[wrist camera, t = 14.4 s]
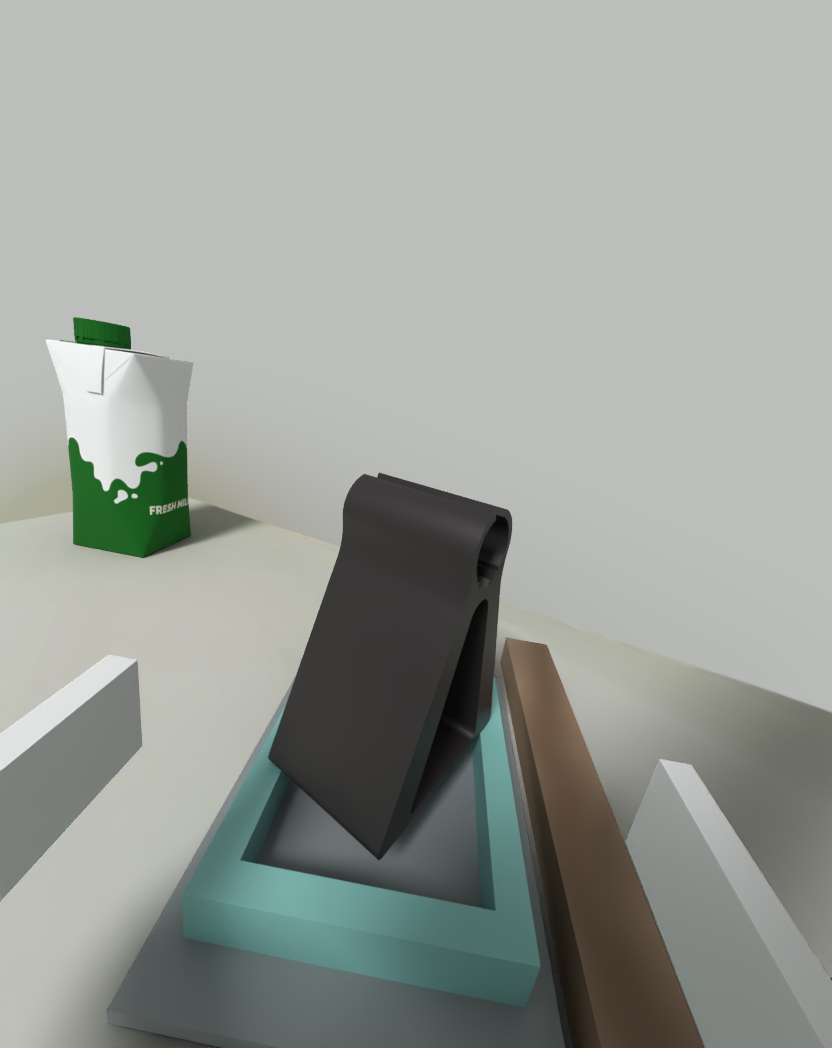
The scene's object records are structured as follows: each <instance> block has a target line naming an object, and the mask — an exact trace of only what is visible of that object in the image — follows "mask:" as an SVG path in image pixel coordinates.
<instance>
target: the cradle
mask: <svg viewBox="0 0 832 1048" xmlns="http://www.w3.org/2000/svg"><path fill="white" fill-rule="evenodd" d="M295 678H296V677H295ZM294 680H295V679H294ZM294 680H293V682H292V684H291V686H290V687H289V689H288V691H287V693H286V694H285V696H284V698H283V700H282V702H281V703H280V705H279V707H278V709H277V710H276V712H275V714H274V716H273V717H272V719H271V721H270V723H269V724H268V726H267V728H266V730H265V732H264V733H263V735H262V737H261V739H260V740H259V742H258V744H257V746H256V747H255V749H254V751H253V753H252V755H251V756H250V758H249V760H248V762H247V763H246V765H245V767H244V769H243V770H242V772H241V774H240V776H239V778H238V779H237V781H236V783H235V785H234V786H233V788H232V790H231V792H230V793H229V795H228V797H227V799H226V801H225V802H224V804H223V806H222V808H221V809H220V811H219V813H218V815H217V816H216V818H215V820H214V822H213V824H212V825H211V827H210V829H209V831H208V832H207V834H206V836H205V838H204V839H203V841H202V843H201V845H200V847H199V848H198V850H197V852H196V854H195V855H194V857H193V859H192V861H191V862H190V864H189V866H188V868H187V870H186V871H185V873H184V875H183V877H182V878H181V880H180V882H179V884H178V885H177V887H176V889H175V891H174V892H173V894H172V896H171V898H170V900H169V901H168V903H167V905H166V907H165V908H164V910H163V912H162V914H161V915H160V917H159V919H158V921H157V923H156V924H155V926H154V928H153V930H152V931H151V933H150V935H149V937H148V938H147V940H146V942H145V944H144V946H143V947H142V949H141V951H140V953H139V954H138V956H137V958H136V960H135V961H134V963H133V965H132V967H131V969H130V970H129V972H128V974H127V976H126V977H125V979H124V981H123V983H122V984H121V986H120V988H119V990H118V992H117V993H116V995H115V997H114V999H113V1000H112V1002H111V1004H110V1006H109V1007H108V1009H107V1017H108V1023H109V1024H113V1025H118V1026H123V1027H127V1028H132V1029H137V1030H141V1031H146V1032H151V1033H155V1034H160V1035H165V1036H169V1037H174V1038H179V1039H183V1040H188V1041H193V1042H197V1043H202V1044H207V1045H211V1046H216V1047H221V1048H565V1044H564V1038H563V1033H562V1027H561V1021H560V1016H559V1010H558V1004H557V999H556V993H555V987H554V981H553V976H552V970H551V964H550V959H549V953H548V947H547V942H546V936H545V930H544V925H543V919H542V913H541V908H540V902H539V896H538V891H537V885H536V879H535V873H534V868H533V862H532V856H531V851H530V845H529V839H528V834H527V828H526V822H525V817H524V811H523V805H522V800H521V794H520V788H519V783H518V777H517V771H516V765H515V760H514V754H513V748H512V743H511V737H510V731H509V726H508V720H507V714H506V709H505V703H504V697H503V692H502V686H501V680H500V678H495V675H494V679H493V693H492V707H491V717H490V720H489V722H488V724H487V725H486V727H485V728H484V729H483V731H482V732H481V733H480V734H479V736H478V737H477V738H476V739H475V741H474V742H473V743H472V745H471V746H470V747H469V748H468V750H467V751H466V752H465V753H464V755H463V756H462V757H461V758H460V760H459V761H458V762H457V764H456V765H455V766H454V767H453V769H452V770H451V771H450V772H449V774H448V775H447V776H446V775H445V776H444V778H443V780H442V783H441V784H440V785H439V786H438V788H437V789H436V790H435V791H434V793H433V794H432V795H431V797H430V798H429V799H428V800H427V802H426V803H425V804H424V805H423V807H422V808H421V809H420V811H419V812H418V813H417V814H416V816H415V817H414V818H413V819H412V821H411V822H410V823H409V825H408V826H407V827H406V828H405V830H404V831H403V832H402V833H401V835H400V836H399V837H398V838H397V840H396V841H395V842H394V844H393V845H392V846H391V847H390V849H389V850H388V851H387V852H386V854H385V855H384V856H383V857H382V859H380V860H378V859H376V858H375V857H374V856H373V855H372V854H371V853H370V852H369V851H368V850H367V849H366V848H365V847H363V846H362V845H361V844H360V843H359V842H358V841H357V840H356V839H355V838H354V837H353V836H351V835H350V834H349V833H348V832H347V831H346V830H345V829H344V828H343V827H342V826H341V825H340V824H338V823H337V822H336V821H335V820H334V819H333V818H332V817H331V816H330V815H329V814H328V813H327V812H325V811H324V810H323V809H322V808H321V807H320V806H319V805H318V804H317V803H316V802H315V801H314V800H312V799H311V798H310V797H309V796H308V795H307V794H306V793H305V792H304V791H303V790H302V789H300V788H299V787H298V786H297V785H296V784H295V783H294V782H293V781H292V780H291V779H290V778H289V777H287V776H286V775H285V774H284V773H283V772H282V771H281V770H280V769H279V768H278V767H277V766H276V765H274V764H273V763H272V762H271V761H270V760H269V759H268V755H269V752H270V749H271V746H272V743H273V740H274V738H275V735H276V732H277V729H278V726H279V723H280V720H281V718H282V715H283V712H284V709H285V706H286V703H287V700H288V698H289V695H290V692H291V689H292V686H293V683H294Z"/></svg>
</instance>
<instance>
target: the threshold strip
mask: <svg viewBox="0 0 832 1048" xmlns="http://www.w3.org/2000/svg"><path fill="white" fill-rule="evenodd" d="M501 665H502V670H503V676H504V681H505V686H506V692H507V697H508V702H509V707H510V713H511V718H512V723H513V728H514V734H515V739H516V744H517V749H518V755H519V760H520V765H521V771H522V776H523V781H524V786H525V792H526V797H527V802H528V807H529V813H530V818H531V823H532V829H533V834H534V839H535V844H536V850H537V855H538V860H539V865H540V871H541V876H542V881H543V887H544V892H545V897H546V902H547V908H548V913H549V918H550V923H551V929H552V934H553V939H554V945H555V950H556V955H557V960H558V966H559V971H560V976H561V981H562V987H563V992H564V997H565V1002H566V1008H567V1013H568V1018H569V1024H570V1029H571V1034H572V1039H573V1045H574V1048H704V1046H703V1043H702V1041H701V1038H700V1035H699V1033H698V1030H697V1028H696V1025H695V1023H694V1020H693V1018H692V1015H691V1012H690V1010H689V1007H688V1005H687V1002H686V1000H685V997H684V995H683V992H682V989H681V987H680V984H679V982H678V979H677V977H676V974H675V972H674V969H673V966H672V964H671V961H670V959H669V956H668V954H667V951H666V949H665V946H664V943H663V941H662V938H661V936H660V933H659V931H658V928H657V925H656V923H655V920H654V918H653V915H652V913H651V910H650V908H649V905H648V902H647V900H646V897H645V895H644V892H643V890H642V887H641V885H640V882H639V879H638V877H637V874H636V872H635V869H634V867H633V864H632V862H631V859H630V856H629V854H628V851H627V849H626V846H625V844H624V841H623V839H622V836H621V833H620V831H619V828H618V826H617V823H616V821H615V818H614V816H613V813H612V810H611V808H610V805H609V803H608V800H607V798H606V795H605V793H604V790H603V787H602V785H601V782H600V780H599V777H598V775H597V772H596V770H595V767H594V764H593V762H592V759H591V757H590V754H589V752H588V749H587V747H586V744H585V741H584V739H583V736H582V734H581V731H580V729H579V726H578V724H577V721H576V718H575V716H574V713H573V711H572V708H571V706H570V703H569V700H568V698H567V695H566V693H565V690H564V688H563V685H562V683H561V680H560V677H559V675H558V672H557V670H556V667H555V665H554V662H553V660H552V657H551V654H550V652H549V649H548V647H547V645H545V644H539V643H534V642H528V641H522V640H516V639H511V638H506V641H505V645H504V649H503V653H502V657H501Z"/></svg>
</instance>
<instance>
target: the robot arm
mask: <svg viewBox="0 0 832 1048" xmlns="http://www.w3.org/2000/svg"><path fill="white" fill-rule="evenodd" d="M141 746H142V732H141V715H140V698H139V681H138V663H137V660H135V659H129V658H124V657H119V656H114V655H107V656H106V657H105V658H103V659H102V660H100V661H99V662H98V663H96V664H95V665H94V666H92V667H91V668H89V669H88V670H87V671H85V672H84V673H83V674H81V675H80V676H79V677H77V678H76V679H74V680H73V681H72V682H70V683H69V684H68V685H66V686H65V687H63V688H62V689H61V690H59V691H58V692H57V693H55V694H54V695H52V696H51V697H50V698H48V699H47V700H46V701H44V702H43V703H41V704H40V705H39V706H37V707H36V708H35V709H33V710H32V711H30V712H29V713H28V714H26V715H25V716H24V717H22V718H21V719H19V720H18V721H17V722H15V723H14V724H13V725H11V726H10V727H8V728H7V729H6V730H4V731H3V732H2V733H0V901H1V900H2V899H3V898H4V897H5V896H6V895H7V893H8V892H9V891H10V890H11V889H12V888H13V887H14V886H15V885H16V884H17V883H18V881H19V880H20V879H21V878H22V877H23V876H24V875H25V874H26V873H27V872H28V870H29V869H30V868H31V867H32V866H33V865H34V864H35V863H36V862H37V861H38V859H39V858H40V857H41V856H42V855H43V854H44V853H45V852H46V851H47V850H48V848H49V847H50V846H51V845H52V844H53V843H54V842H55V841H56V840H57V839H58V838H59V836H60V835H61V834H62V833H63V832H64V831H65V830H66V829H67V828H68V827H69V825H70V824H71V823H72V822H73V821H74V820H75V819H76V818H77V817H78V816H79V814H80V813H81V812H82V811H83V810H84V809H85V808H86V807H87V806H88V805H89V804H90V802H91V801H92V800H93V799H94V798H95V797H96V796H97V795H98V794H99V793H100V791H101V790H102V789H103V788H104V787H105V786H106V785H107V784H108V783H109V782H110V780H111V779H112V778H113V777H114V776H115V775H116V774H117V773H118V772H119V771H120V769H121V768H122V767H123V766H124V765H125V764H126V763H127V762H128V761H129V760H130V759H131V757H132V756H133V755H134V754H135V753H136V752H137V751H138V750H139V749H140V748H141ZM625 842H626V844H627V847H628V850H629V852H630V855H631V857H632V860H633V862H634V865H635V868H636V870H637V873H638V875H639V878H640V880H641V883H642V886H643V888H644V891H645V893H646V896H647V899H648V901H649V904H650V906H651V909H652V911H653V914H654V917H655V919H656V922H657V924H658V927H659V930H660V932H661V935H662V937H663V940H664V942H665V945H666V948H667V950H668V953H669V955H670V958H671V961H672V963H673V966H674V968H675V971H676V973H677V976H678V979H679V981H680V984H681V986H682V989H683V992H684V994H685V997H686V999H687V1002H688V1004H689V1007H690V1010H691V1012H692V1015H693V1017H694V1020H695V1023H696V1025H697V1028H698V1030H699V1033H700V1035H701V1038H702V1041H703V1043H704V1046H705V1048H832V978H830V977H829V975H828V974H827V972H826V971H825V969H824V968H823V966H822V965H821V963H820V961H819V960H818V958H817V957H816V955H815V954H814V952H813V951H812V949H811V948H810V946H809V945H808V943H807V942H806V940H805V938H804V937H803V935H802V934H801V932H800V931H799V929H798V928H797V926H796V925H795V923H794V922H793V920H792V918H791V917H790V915H789V914H788V912H787V911H786V909H785V908H784V906H783V905H782V903H781V902H780V900H779V899H778V897H777V895H776V894H775V892H774V891H773V889H772V888H771V886H770V885H769V883H768V882H767V880H766V879H765V877H764V875H763V874H762V872H761V871H760V869H759V868H758V866H757V865H756V863H755V862H754V860H753V859H752V857H751V856H750V854H749V852H748V851H747V849H746V848H745V846H744V845H743V843H742V842H741V840H740V839H739V837H738V836H737V834H736V832H735V831H734V829H733V828H732V826H731V825H730V823H729V822H728V820H727V819H726V817H725V816H724V814H723V813H722V811H721V809H720V808H719V806H718V805H717V803H716V802H715V800H714V799H713V797H712V796H711V794H710V793H709V791H708V789H707V788H706V786H705V785H704V783H703V782H702V780H701V779H700V777H699V776H698V774H697V773H696V771H695V770H694V768H693V766H692V765H690V764H685V763H680V762H674V761H669V760H664V759H659V760H658V762H657V765H656V767H655V770H654V772H653V775H652V777H651V780H650V782H649V785H648V787H647V790H646V792H645V794H644V797H643V799H642V802H641V804H640V807H639V809H638V812H637V814H636V817H635V819H634V822H633V824H632V827H631V829H630V831H629V834H628V836H627V839H626V841H625Z"/></svg>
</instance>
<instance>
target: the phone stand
mask: <svg viewBox="0 0 832 1048" xmlns="http://www.w3.org/2000/svg"><path fill="white" fill-rule="evenodd" d="M511 534H512V517H511V514H510V512H509V511H508V510H507V509H503V508H500V507H496V506H493V505H489V504H486V503H482V502H479V501H475V500H472V499H469V498H465V497H462V496H458V495H455V494H451V493H448V492H444V491H441V490H437V489H434V488H430V487H427V486H423V485H420V484H417V483H413V482H410V481H406V480H402V479H399V478H396V477H392V476H389V475H385V474H382V473H379V474H378V477H377V478H376V477H373V476H369V475H366V474H364V475H362V476H361V477H360V478H359V479H357V480H356V481H355V483H354V484H353V485H352V487H351V488H350V490H349V492H348V494H347V497H346V500H345V503H344V508H343V535H342V542H341V547H340V551H339V554H338V557H337V560H336V563H335V566H334V569H333V572H332V575H331V577H330V580H329V583H328V586H327V589H326V592H325V595H324V597H323V600H322V603H321V606H320V609H319V612H318V615H317V617H316V620H315V623H314V626H313V629H312V632H311V635H310V637H309V640H308V643H307V646H306V649H305V652H304V655H303V658H302V660H301V663H300V666H299V669H298V672H297V675H296V678H295V680H294V683H293V686H292V689H291V692H290V695H289V698H288V700H287V703H286V706H285V709H284V712H283V715H282V718H281V720H280V723H279V726H278V729H277V732H276V735H275V738H274V740H273V743H272V746H271V749H270V752H269V755H268V759H269V760H270V761H271V762H272V763H273V764H274V765H276V766H277V767H278V768H279V769H280V770H281V771H282V772H283V773H284V774H285V775H286V776H287V777H289V778H290V779H291V780H292V781H293V782H294V783H295V784H296V785H297V786H298V787H299V788H300V789H302V790H303V791H304V792H305V793H306V794H307V795H308V796H309V797H310V798H311V799H312V800H314V801H315V802H316V803H317V804H318V805H319V806H320V807H321V808H322V809H323V810H324V811H325V812H327V813H328V814H329V815H330V816H331V817H332V818H333V819H334V820H335V821H336V822H337V823H338V824H340V825H341V826H342V827H343V828H344V829H345V830H346V831H347V832H348V833H349V834H350V835H351V836H353V837H354V838H355V839H356V840H357V841H358V842H359V843H360V844H361V845H362V846H363V847H365V848H366V849H367V850H368V851H369V852H370V853H371V854H372V855H373V856H374V857H375V858H376V859H378V860H380V859H382V857H383V856H384V855H385V854H386V852H387V851H388V850H389V849H390V847H391V846H392V845H393V844H394V842H395V841H396V840H397V838H398V837H399V836H400V835H401V833H402V832H403V831H404V830H405V828H406V827H407V826H408V825H409V823H410V822H411V821H412V819H413V818H414V817H415V816H416V814H417V813H418V812H419V811H420V809H421V808H422V807H423V805H424V804H425V803H426V802H427V800H428V799H429V798H430V797H431V795H432V794H433V793H434V791H435V790H436V789H437V788H438V786H439V785H440V784H441V783H442V780H443V778H444V776H445V775H446V776H447V775H448V774H449V772H450V771H451V770H452V769H453V767H454V766H455V765H456V764H457V762H458V761H459V760H460V758H461V757H462V756H463V755H464V753H465V752H466V751H467V750H468V748H469V747H470V746H471V745H472V743H473V742H474V741H475V739H476V738H477V737H478V736H479V734H480V733H481V732H482V731H483V729H484V728H485V727H486V725H487V724H488V722H489V720H490V717H491V707H492V693H493V679H494V665H495V651H496V637H497V623H498V609H499V595H500V583H501V576H502V571H503V567H504V562H505V558H506V555H507V551H508V548H509V544H510V539H511Z"/></svg>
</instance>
